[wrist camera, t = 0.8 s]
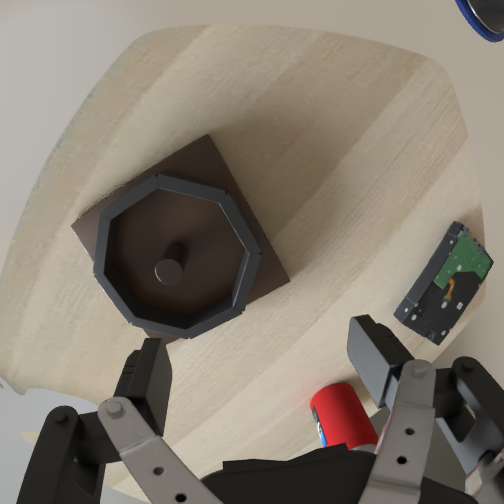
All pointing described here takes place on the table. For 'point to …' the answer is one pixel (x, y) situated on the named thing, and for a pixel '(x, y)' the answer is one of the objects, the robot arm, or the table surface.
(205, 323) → the ring
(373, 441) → the beverage can
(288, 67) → the table surface
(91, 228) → the stand
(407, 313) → the disk drive
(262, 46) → the table surface
